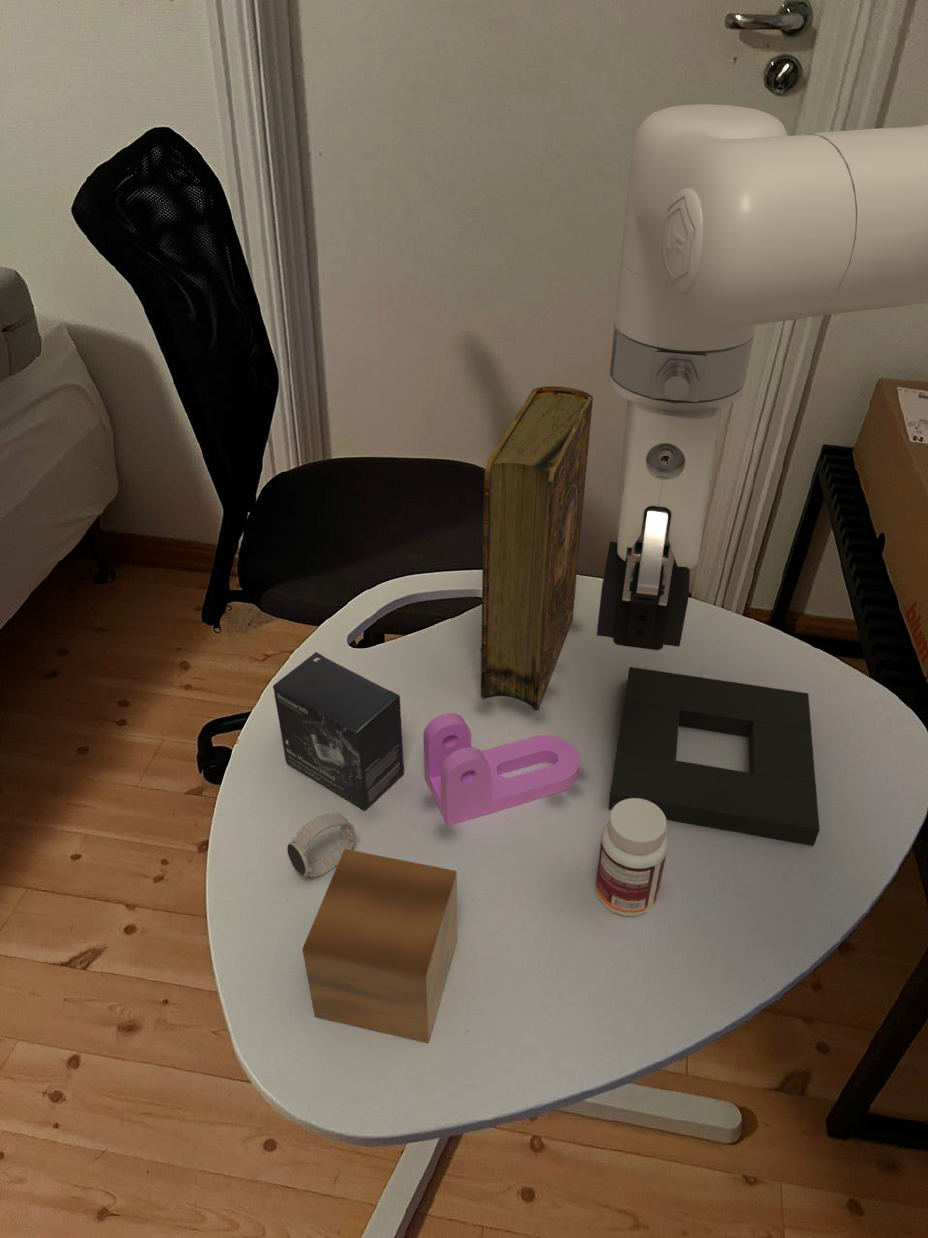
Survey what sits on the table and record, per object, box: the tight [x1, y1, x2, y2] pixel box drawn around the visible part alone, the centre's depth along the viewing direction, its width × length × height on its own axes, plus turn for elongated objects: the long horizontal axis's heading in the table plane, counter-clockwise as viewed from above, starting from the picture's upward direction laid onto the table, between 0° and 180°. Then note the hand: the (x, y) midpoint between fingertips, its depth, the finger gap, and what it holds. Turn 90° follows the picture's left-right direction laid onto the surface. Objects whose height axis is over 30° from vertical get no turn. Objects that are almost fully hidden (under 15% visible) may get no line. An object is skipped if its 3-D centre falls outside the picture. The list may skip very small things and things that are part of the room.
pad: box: [596, 541, 691, 647], centre depth 62 cm, size 5×5×4 cm
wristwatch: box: [286, 812, 356, 878], centre depth 71 cm, size 3×5×5 cm, turn 130°
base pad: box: [607, 666, 820, 847], centre depth 82 cm, size 16×16×2 cm
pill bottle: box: [595, 798, 669, 917], centre depth 68 cm, size 5×5×8 cm
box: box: [272, 651, 405, 811], centre depth 78 cm, size 9×6×10 cm, turn 54°
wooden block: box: [302, 849, 458, 1044], centre depth 63 cm, size 8×8×8 cm
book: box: [480, 386, 594, 710], centre depth 86 cm, size 16×6×25 cm, turn 162°
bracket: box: [422, 712, 581, 827], centre depth 78 cm, size 13×6×7 cm, turn 111°
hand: (641, 614), depth 63 cm, fingers closed on pad, 5 cm apart
